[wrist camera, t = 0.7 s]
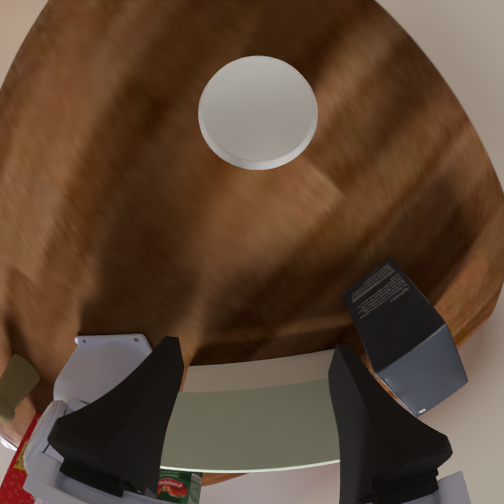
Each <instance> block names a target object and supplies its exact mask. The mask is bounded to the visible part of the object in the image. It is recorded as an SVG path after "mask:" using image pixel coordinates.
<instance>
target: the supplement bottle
mask: <svg viewBox="0 0 504 504" xmlns="http://www.w3.org/2000/svg"><path fill="white" fill-rule="evenodd" d="M198 119H199V126H200V129H201V132H202V135H203V137H204V139H205V141H206V142H207V144H208V145H209V147H210V148H211V149H212V150H213V151H214V152H215V153H216V154H217V155H218V156H219V157H220V158H222V159H223V160H225V161H227V162H228V163H230V164H232V165H235V166H238V167H241V168H245V169H251V170H266V169H271V168H275V167H278V166H281V165H284V164H286V163H288V162H289V161H291V160H293V159H294V158H296V157H297V156H298V155H299V154H300V153H302V152H303V150H304V149H305V148H306V147H307V146H308V144H309V143H310V141H311V139H312V137H313V135H314V132H315V130H316V126H317V119H318V107H317V102H316V98H315V95H314V93H313V91H312V88H311V87H310V85H309V84H308V82H307V81H306V79H305V78H304V77H303V76H302V75H301V74H300V73H299V72H298V71H297V70H296V69H295V68H294V67H292V66H291V65H289V64H287V63H286V62H284V61H282V60H279V59H276V58H273V57H267V56H249V57H243V58H240V59H237V60H235V61H232V62H230V63H228V64H227V65H225V66H224V67H223V68H221V69H220V70H219V71H218V72H217V73H216V74H215V75H214V76H213V77H212V78H211V79H210V81H209V82H208V84H207V85H206V87H205V89H204V91H203V93H202V95H201V98H200V102H199V109H198Z"/></svg>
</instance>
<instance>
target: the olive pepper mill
mask: <svg viewBox="0 0 504 504" xmlns="http://www.w3.org/2000/svg"><path fill="white" fill-rule="evenodd" d="M39 381H40V376H39V374H38V372H37V371H36V369H35V368H34V367H33V366H32V365H31V364H30V363H29V362H28V361H27V360H26V359H25V358H23V357H22V356H20V355H18V354H13V356H12V358H11V359H10V361H9V363H8V365H7V367H6V369H5V371H4V373H3V375H2V377H1V379H0V421H1V422H2V423H5V424H9V423H11V422H12V420H13V418H14V415H15V412H14V410H15V409H16V407H17V406H18V405H19V404H20V403H21V401H22V400H23V399H24V398H25V397H26V396H27V395H28V393H29V392H30V391H31V390H32V389H33V388H34V387H35V386H36V384H37V383H38V382H39Z"/></svg>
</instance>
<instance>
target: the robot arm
mask: <svg viewBox="0 0 504 504" xmlns="http://www.w3.org/2000/svg"><path fill="white" fill-rule="evenodd" d="M136 338H137V339H136ZM75 341H76V343H77V344H78V346H77V347H76V349H75V351H74V352H73V354H72V355H71V357H70V358H69V360H68V361H67V363H66V364H65V366H64V367H63V369H62V371H61V372H60V374H59V375H58V377H57V379H56V381H55V385H54V401H52V402H51V403H50V404H49V406H48V407H47V408H46V410H45V411H44V413H43V414H42V416H41V418H40V419H39V421H38V423H37V425H36V427H35V429H34V431H33V433H32V435H31V437H30V440H29V443H28V445H27V447H26V449H25V452H24V455H23V459H24V467H25V470H26V472H27V474H28V476H27V478H26V481H25V483H24V486H23V489H24V490H25V491H27V492H29V493H30V494H32V495H33V496H35V497H36V500H35V502H34V504H177V503H172V502H167V501H163V500H159V499H155V498H157V497H158V483H159V473H160V465H161V457H162V451H163V445H164V440H165V435H166V429H167V426H168V422H169V419H170V416H171V413H172V410H173V407H174V404H175V401H176V398H177V395H178V392H179V389H180V386H181V381H182V376H183V371H184V363H183V358H182V353H181V348H180V343H179V338H178V337H171V336H165V337H164V338H163V339H162V341H161V342H160V343H159V344H158V345H157V346H156V347H155V349H154V350H153V351H152V349H151V347H150V345H149V343H148V341H147V339H146V337H145V336H144V335H143V334H124V335H98V336H76V338H75ZM328 380H329V391H330V396H331V401H332V406H333V411H334V415H335V420H336V425H337V430H338V437H339V450H340V501H339V504H471V501H470V497H469V494H468V490H467V487H466V483H465V480H464V476H463V473H462V471H459V472H457V473H455V474H452V475H450V476H447V477H445V478H442V479H440V480H438V481H437V480H436V476H437V475H438V470H437V468H438V467H439V466H441V465H442V464H443V463H444V462H445V461H447V460H448V459H449V458H450V457H451V455H452V453H453V452H452V448H451V445H450V442H449V440H448V438H447V436H446V435H444V434H442V433H440V432H438V431H436V430H434V429H433V428H431V427H429V426H428V425H426V424H424V423H423V422H421V421H420V420H418V419H417V418H416V417H414V416H413V415H411V414H410V413H409V412H408V411H407V410H405V409H404V408H403V407H402V406H401V405H399V404H398V403H397V402H396V401H395V400H394V399H393V398H392V397H391V396H390V395H389V394H388V393H387V392H386V391H385V390H384V389H383V387H382V386H381V385H380V384H379V383H378V382H377V380H376V379H375V378H374V377H373V375H372V374H371V373H370V372H369V370H368V369H367V368H366V366H365V365H364V364H363V362H362V361H361V360H360V358H359V357H358V355H357V354H356V353H355V351H354V350H353V348H352V347H351V345H350V344H336V347H335V351H334V354H333V357H332V361H331V364H330V368H329V371H328Z"/></svg>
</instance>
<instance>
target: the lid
mask: <svg viewBox="0 0 504 504" xmlns="http://www.w3.org/2000/svg"><path fill="white" fill-rule="evenodd" d="M336 462H340V450H339V437H338V430H337V425H336V420H335V415H334V411H333V406H332V401H331V396H330V391H329V380H328V378H327V379H321V380H315V381H309V382H303V383H297V384H290V385H282V386H274V387H266V388H256V389H245V390H232V391H216V392H185V393H178V395H177V398H176V402H175V405H174V409H173V412H172V416H171V419H170V423H169V427H168V430H167V434H166V438H165V441H164V445H163V451H162V457H161V465H160V468H162V469H171V470H181V471H193V472H215V473H245V472H267V471H279V470H290V469H299V468H306V467H313V466H319V465H325V464H331V463H336Z"/></svg>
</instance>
